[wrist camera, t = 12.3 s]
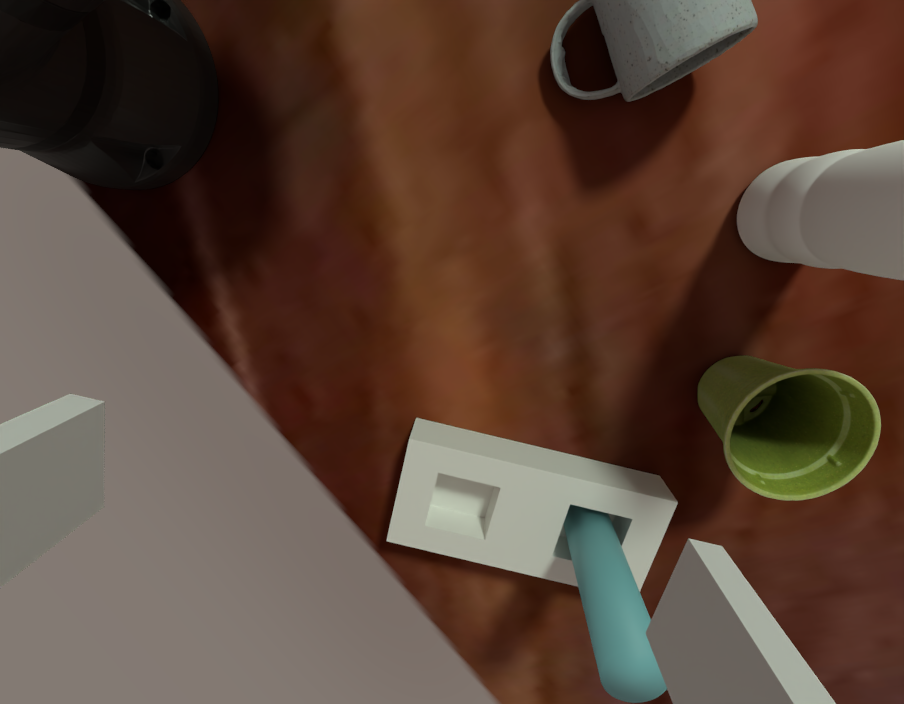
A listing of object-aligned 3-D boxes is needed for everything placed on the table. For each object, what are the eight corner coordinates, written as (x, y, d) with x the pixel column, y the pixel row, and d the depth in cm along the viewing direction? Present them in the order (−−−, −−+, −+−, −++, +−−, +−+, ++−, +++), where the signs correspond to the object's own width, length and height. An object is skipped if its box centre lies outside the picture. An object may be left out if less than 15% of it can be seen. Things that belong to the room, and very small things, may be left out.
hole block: (416, 417, 41) (409, 438, 37) (659, 475, 41) (678, 502, 37) (394, 512, 44) (386, 541, 40) (622, 566, 44) (635, 600, 40)
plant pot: (735, 461, 40) (802, 525, 32) (650, 402, 39) (695, 452, 31) (819, 377, 38) (914, 423, 29) (730, 312, 37) (802, 340, 28)
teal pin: (569, 492, 41) (613, 642, 26) (614, 503, 41) (682, 659, 26) (556, 530, 42) (591, 693, 28) (599, 540, 42) (657, 709, 28)
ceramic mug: (678, -70, 30) (738, -161, 23) (720, 56, 32) (789, 10, 25) (527, 23, 32) (538, -33, 25) (575, 136, 34) (598, 116, 27)
